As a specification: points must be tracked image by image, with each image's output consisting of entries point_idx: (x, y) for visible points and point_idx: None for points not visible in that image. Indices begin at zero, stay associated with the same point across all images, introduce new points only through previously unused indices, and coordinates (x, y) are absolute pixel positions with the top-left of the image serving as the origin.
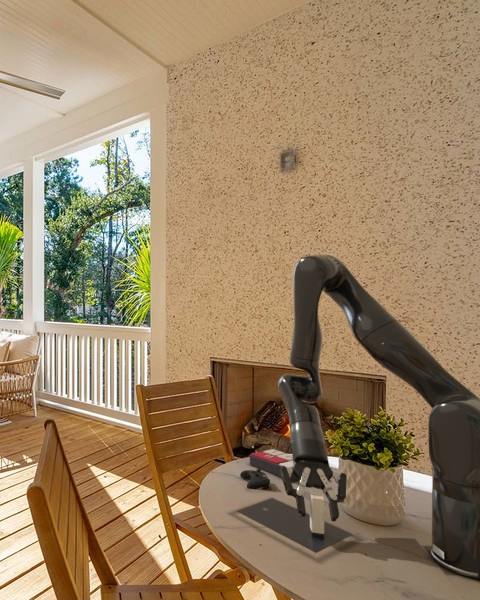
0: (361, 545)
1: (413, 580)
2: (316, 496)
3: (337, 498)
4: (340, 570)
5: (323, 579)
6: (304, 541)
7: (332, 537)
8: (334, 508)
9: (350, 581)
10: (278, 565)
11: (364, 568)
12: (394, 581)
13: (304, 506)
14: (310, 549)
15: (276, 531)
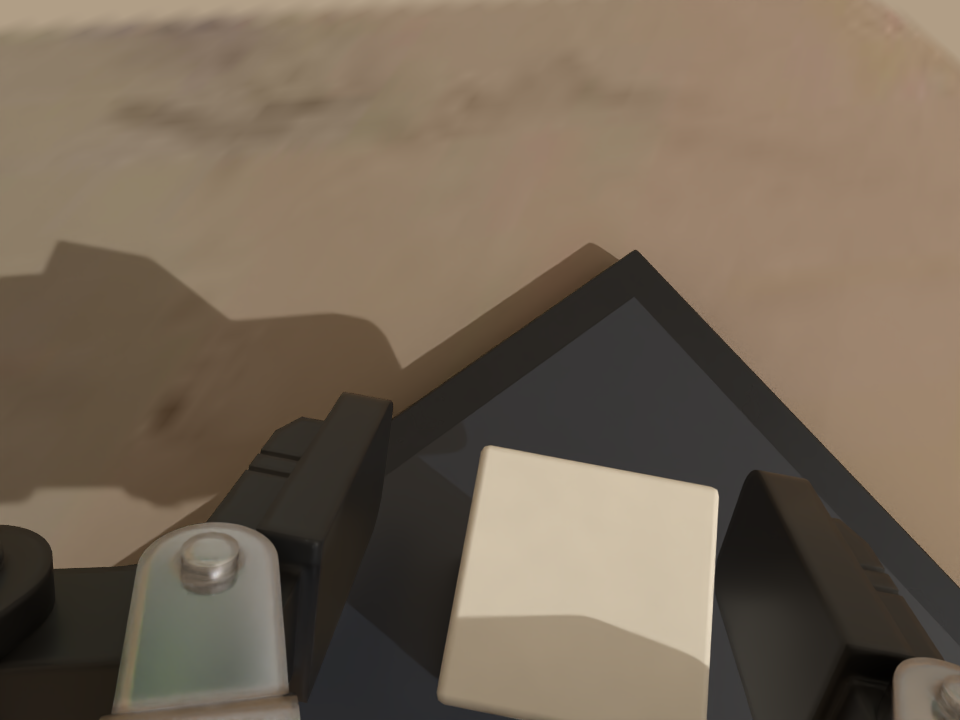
0: (106, 555)
1: (43, 128)
2: (601, 584)
3: (128, 592)
4: (504, 181)
5: (658, 88)
6: (682, 466)
7: (365, 583)
8: (318, 448)
9: (491, 85)
10: (923, 191)
11: (311, 218)
12: (190, 108)
13: (793, 519)
14: (666, 339)
15: (927, 628)
